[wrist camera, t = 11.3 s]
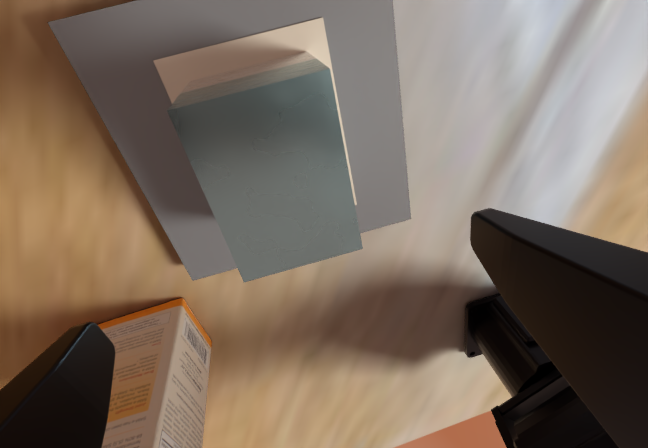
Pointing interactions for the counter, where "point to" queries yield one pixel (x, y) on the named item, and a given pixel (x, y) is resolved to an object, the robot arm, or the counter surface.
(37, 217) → the counter surface
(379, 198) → the stand
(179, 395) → the supplement box
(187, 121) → the block
